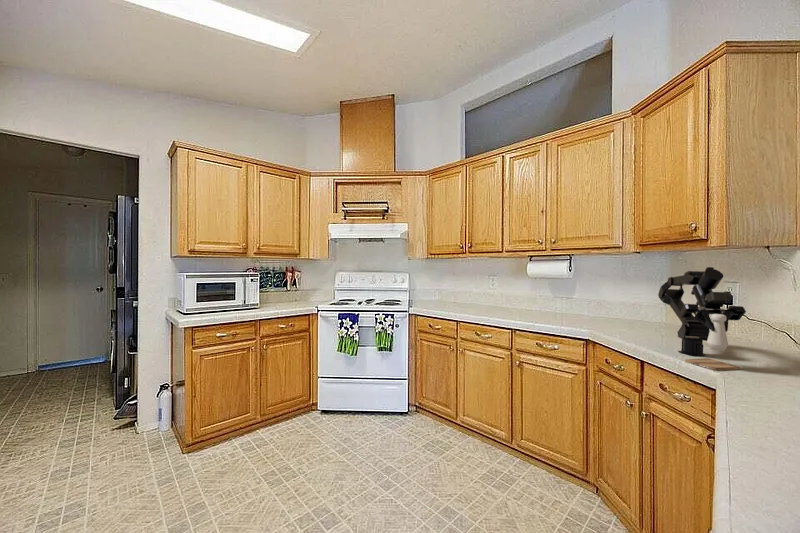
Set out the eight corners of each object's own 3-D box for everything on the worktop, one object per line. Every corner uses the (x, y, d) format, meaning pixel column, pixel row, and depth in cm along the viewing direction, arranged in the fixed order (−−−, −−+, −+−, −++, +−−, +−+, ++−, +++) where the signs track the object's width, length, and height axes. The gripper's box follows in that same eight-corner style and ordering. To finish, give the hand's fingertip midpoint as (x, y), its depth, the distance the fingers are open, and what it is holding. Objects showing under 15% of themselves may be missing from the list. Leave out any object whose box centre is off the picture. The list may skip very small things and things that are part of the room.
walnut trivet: (685, 362, 141) (685, 359, 141) (708, 360, 143) (708, 358, 143) (715, 370, 130) (715, 368, 130) (739, 369, 133) (740, 366, 133)
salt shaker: (714, 347, 140) (715, 312, 139) (731, 350, 134) (733, 315, 134) (703, 348, 138) (704, 313, 137) (720, 352, 132) (722, 315, 132)
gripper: (685, 282, 141) (699, 316, 131) (744, 284, 136) (763, 319, 126) (674, 300, 149) (686, 333, 139) (730, 302, 144) (746, 337, 134)
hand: (720, 331), depth 134 cm, fingers closed on salt shaker, 3 cm apart
